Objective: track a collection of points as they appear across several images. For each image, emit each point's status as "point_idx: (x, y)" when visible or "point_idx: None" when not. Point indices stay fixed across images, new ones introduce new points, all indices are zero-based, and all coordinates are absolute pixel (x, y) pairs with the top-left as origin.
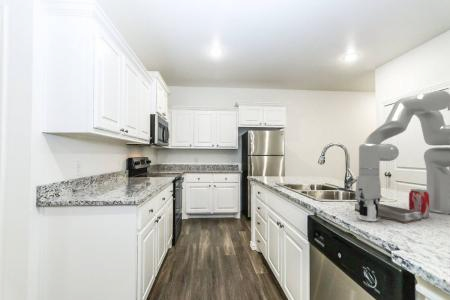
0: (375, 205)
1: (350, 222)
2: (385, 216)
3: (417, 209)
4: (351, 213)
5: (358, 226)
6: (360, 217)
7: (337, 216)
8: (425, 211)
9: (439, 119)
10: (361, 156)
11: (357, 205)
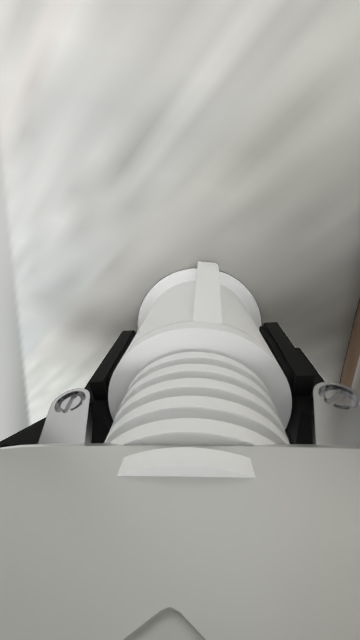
0: (289, 430)
1: (34, 338)
2: (357, 362)
3: None
4: (241, 103)
5: (38, 395)
6: (149, 311)
7: (15, 180)
8: None
9: None
10: None
11: None
